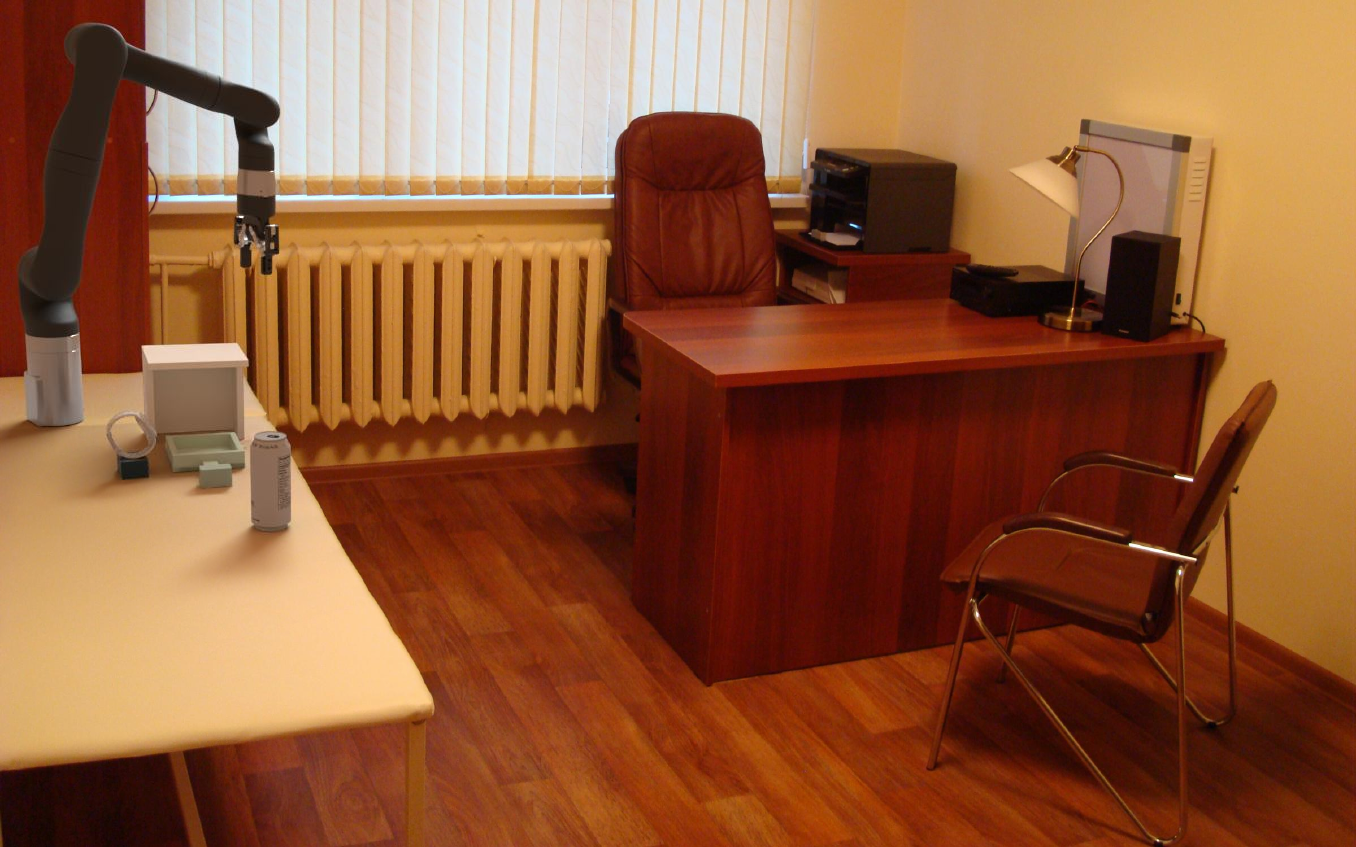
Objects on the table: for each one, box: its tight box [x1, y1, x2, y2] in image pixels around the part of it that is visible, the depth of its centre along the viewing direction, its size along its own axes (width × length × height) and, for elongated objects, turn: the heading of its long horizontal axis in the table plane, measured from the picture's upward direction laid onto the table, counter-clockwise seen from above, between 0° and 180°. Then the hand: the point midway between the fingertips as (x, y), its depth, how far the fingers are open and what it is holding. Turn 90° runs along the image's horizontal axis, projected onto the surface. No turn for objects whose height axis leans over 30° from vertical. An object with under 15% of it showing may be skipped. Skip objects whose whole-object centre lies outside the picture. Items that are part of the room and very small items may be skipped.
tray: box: [165, 431, 246, 489], centre depth 225 cm, size 22×12×3 cm, turn 27°
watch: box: [106, 410, 158, 480], centre depth 219 cm, size 6×8×11 cm
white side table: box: [141, 342, 250, 445], centre depth 238 cm, size 14×17×17 cm
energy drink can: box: [249, 430, 292, 533], centre depth 200 cm, size 6×6×15 cm
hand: (256, 271), depth 263 cm, fingers open, 8 cm apart
